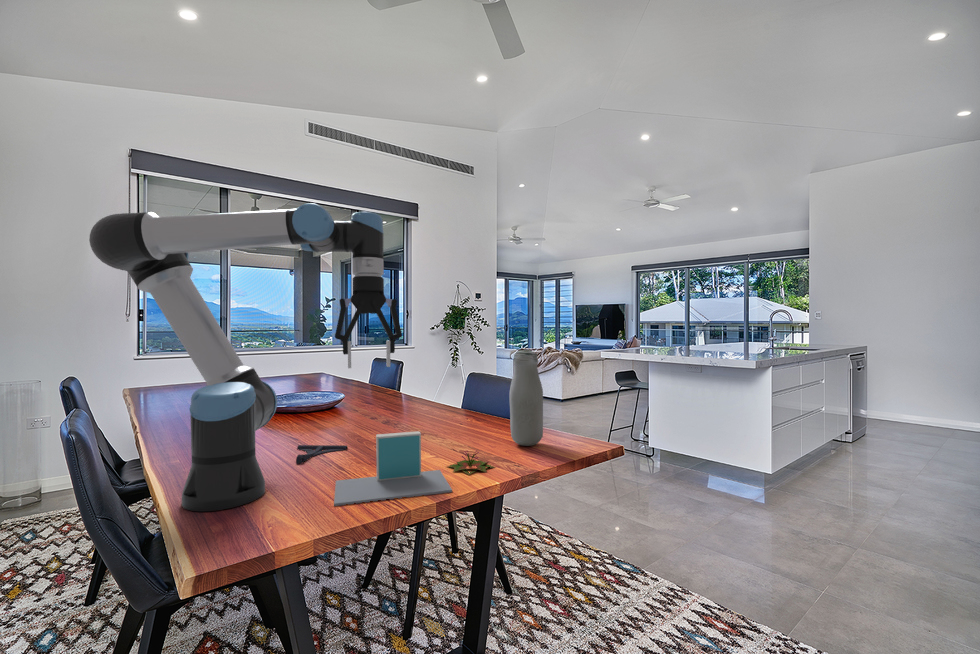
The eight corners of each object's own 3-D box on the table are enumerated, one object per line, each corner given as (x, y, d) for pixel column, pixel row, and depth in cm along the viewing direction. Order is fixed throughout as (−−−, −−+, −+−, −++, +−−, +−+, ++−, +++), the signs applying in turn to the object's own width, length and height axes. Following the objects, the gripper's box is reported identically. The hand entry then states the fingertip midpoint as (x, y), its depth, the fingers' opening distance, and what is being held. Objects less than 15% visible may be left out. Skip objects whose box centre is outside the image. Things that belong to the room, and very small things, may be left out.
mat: (333, 506, 92) (333, 503, 91) (335, 482, 105) (335, 480, 105) (452, 492, 99) (452, 489, 99) (439, 471, 112) (439, 469, 112)
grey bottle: (543, 440, 140) (542, 349, 140) (543, 450, 130) (543, 351, 130) (510, 440, 141) (510, 349, 141) (508, 449, 131) (508, 351, 131)
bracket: (271, 466, 120) (271, 455, 120) (299, 450, 135) (299, 440, 135) (325, 467, 119) (325, 456, 119) (347, 451, 133) (347, 441, 133)
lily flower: (437, 469, 116) (437, 450, 116) (473, 459, 124) (473, 442, 124) (467, 481, 107) (467, 461, 107) (504, 469, 115) (504, 451, 115)
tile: (377, 481, 104) (376, 437, 104) (376, 477, 107) (376, 434, 107) (421, 476, 107) (420, 433, 107) (419, 473, 110) (419, 431, 110)
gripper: (321, 273, 108) (322, 370, 108) (413, 275, 114) (414, 366, 114) (323, 276, 115) (324, 367, 115) (409, 278, 121) (410, 364, 121)
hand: (369, 367), depth 115 cm, fingers open, 9 cm apart
